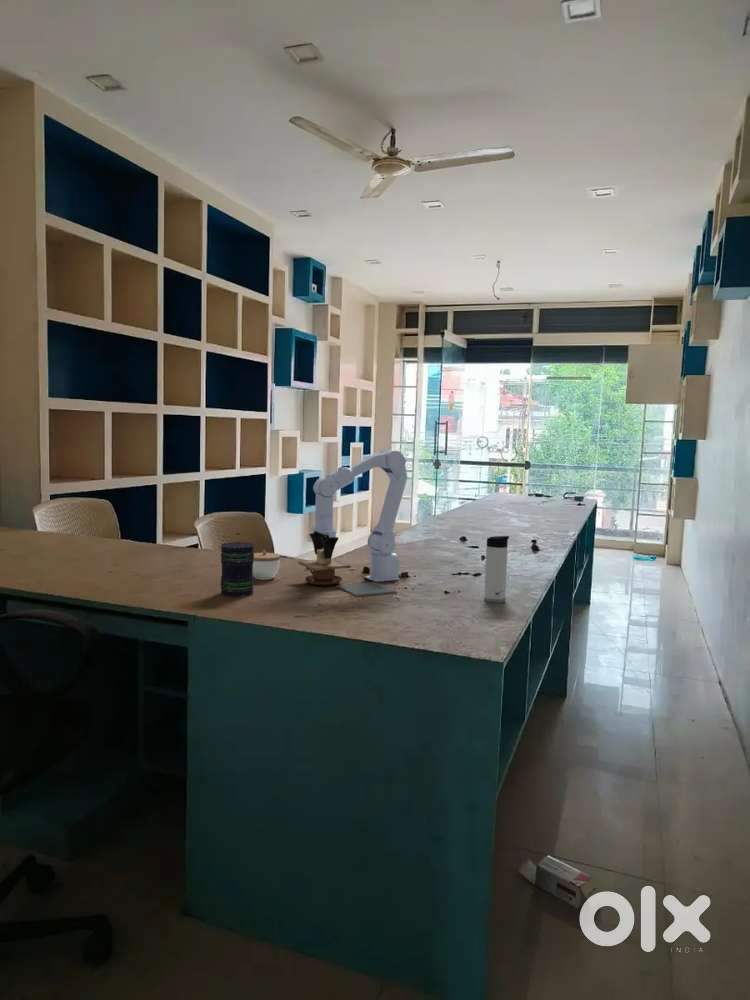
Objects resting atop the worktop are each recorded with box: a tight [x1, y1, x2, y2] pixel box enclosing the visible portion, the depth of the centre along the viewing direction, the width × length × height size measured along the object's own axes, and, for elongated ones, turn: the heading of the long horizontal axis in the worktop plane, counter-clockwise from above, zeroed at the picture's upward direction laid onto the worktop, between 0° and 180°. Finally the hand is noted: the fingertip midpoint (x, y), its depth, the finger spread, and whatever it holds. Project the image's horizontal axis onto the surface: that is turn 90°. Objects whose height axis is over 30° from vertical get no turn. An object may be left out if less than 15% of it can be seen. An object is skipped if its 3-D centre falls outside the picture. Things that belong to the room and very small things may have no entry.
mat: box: [336, 581, 398, 598], centre depth 217 cm, size 14×14×1 cm
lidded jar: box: [253, 549, 281, 581], centre depth 231 cm, size 11×11×9 cm
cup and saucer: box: [305, 569, 343, 587], centre depth 225 cm, size 12×12×6 cm
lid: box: [297, 549, 351, 571], centre depth 224 cm, size 13×13×5 cm
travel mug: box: [483, 535, 510, 604], centre depth 207 cm, size 6×7×20 cm
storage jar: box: [220, 532, 255, 598], centre depth 207 cm, size 10×10×18 cm
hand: (323, 556), depth 224 cm, fingers open, 7 cm apart
